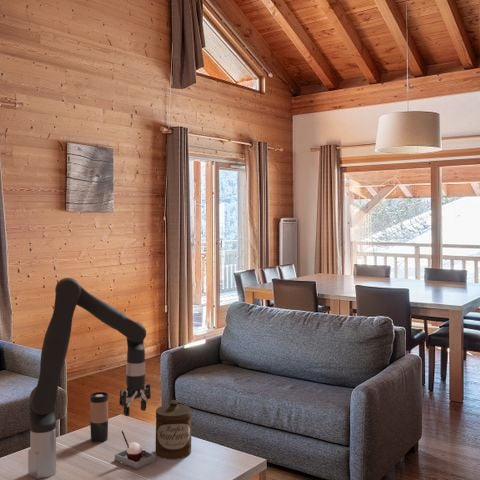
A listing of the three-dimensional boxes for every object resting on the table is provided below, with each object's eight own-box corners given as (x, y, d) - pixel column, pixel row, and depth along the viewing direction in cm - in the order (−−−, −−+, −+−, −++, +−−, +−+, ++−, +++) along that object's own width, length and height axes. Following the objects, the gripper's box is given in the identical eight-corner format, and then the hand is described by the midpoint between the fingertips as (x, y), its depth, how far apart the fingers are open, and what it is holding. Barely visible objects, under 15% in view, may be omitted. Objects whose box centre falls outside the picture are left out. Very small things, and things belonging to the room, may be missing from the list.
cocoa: (146, 458, 232) (148, 428, 232) (142, 464, 226) (143, 434, 225) (123, 455, 233) (125, 426, 233) (118, 461, 227) (120, 431, 226)
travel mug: (110, 436, 254) (110, 392, 254) (104, 443, 247) (104, 397, 246) (93, 435, 255) (93, 391, 254) (87, 442, 248) (87, 397, 247)
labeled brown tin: (156, 461, 230) (156, 407, 229) (154, 446, 244) (154, 395, 243) (193, 458, 233) (193, 405, 232) (189, 443, 247) (189, 393, 246)
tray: (136, 469, 222) (136, 463, 222) (114, 460, 230) (114, 454, 230) (155, 461, 230) (155, 454, 230) (133, 452, 238) (133, 446, 238)
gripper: (128, 378, 220) (127, 419, 221) (155, 371, 232) (154, 410, 232) (115, 374, 225) (114, 415, 226) (142, 367, 236) (142, 406, 237)
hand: (135, 412), depth 229 cm, fingers open, 8 cm apart
